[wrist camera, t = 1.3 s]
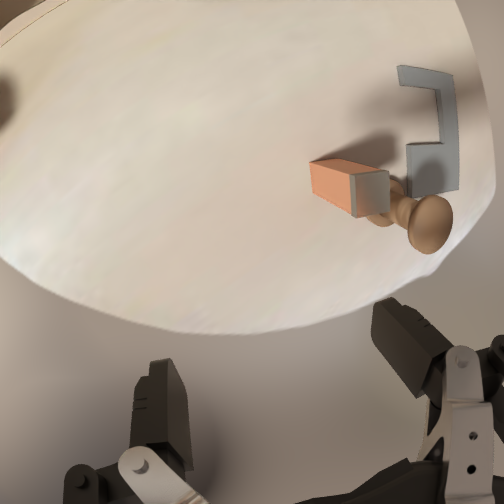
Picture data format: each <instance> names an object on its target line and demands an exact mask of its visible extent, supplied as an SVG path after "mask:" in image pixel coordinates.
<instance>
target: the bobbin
mask: <svg viewBox="0 0 504 504" xmlns="http://www.w3.org/2000/svg"><path fill="white" fill-rule="evenodd" d="M366 217H367V219H368V220H369V221H371V222H372V223H374V224H376V225H377V226H380V227H387V226H390V225H392V224H393V223H396V224H397V225H399V226H401V227H403V228H405V229H406V230H408V238H409V241H410V243H411V245H412V246H413V247H414V248H415V249H416V250H418V251H420V252H421V253H423V254H432V253H435V252H436V251H438V250H439V249H440V248H441V247H442V246H443V245H444V243H445V242H446V240H447V239H448V237H449V234H450V232H451V229H452V224H453V212H452V208H451V205H450V204H449V202H448V201H447V200H446V199H444V198H442V197H439V196H437V195H427V196H425V197H423V198H422V199H421V200H420V201H417V200H415V199H412V198H410V197H407V196H405V194H404V190H403V188H402V186H401V185H400V184H399V183H398V182H397V181H395V180H392V179H390V211H388V212H384V213H379V214H375V215H370V216H366Z"/></svg>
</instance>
